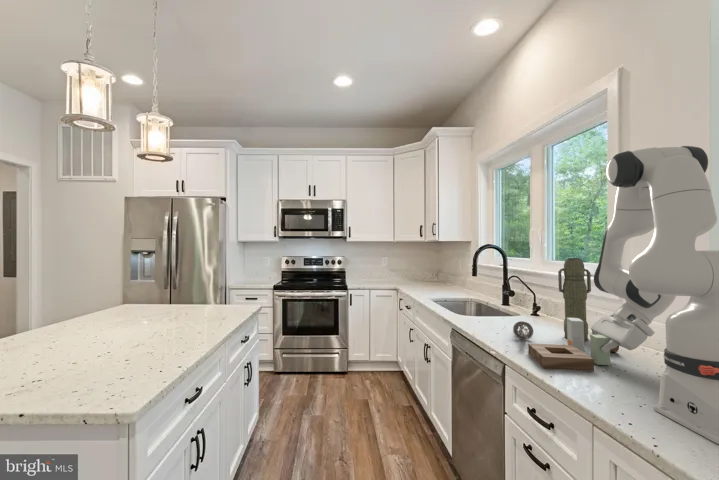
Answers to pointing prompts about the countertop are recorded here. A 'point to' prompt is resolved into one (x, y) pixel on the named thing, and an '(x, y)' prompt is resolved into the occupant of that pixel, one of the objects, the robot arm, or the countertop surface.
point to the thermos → (575, 291)
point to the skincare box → (575, 333)
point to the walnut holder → (560, 357)
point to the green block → (596, 352)
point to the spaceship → (523, 330)
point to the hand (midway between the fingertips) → (598, 348)
